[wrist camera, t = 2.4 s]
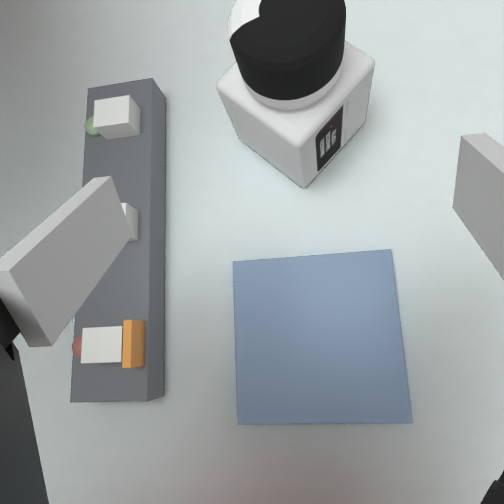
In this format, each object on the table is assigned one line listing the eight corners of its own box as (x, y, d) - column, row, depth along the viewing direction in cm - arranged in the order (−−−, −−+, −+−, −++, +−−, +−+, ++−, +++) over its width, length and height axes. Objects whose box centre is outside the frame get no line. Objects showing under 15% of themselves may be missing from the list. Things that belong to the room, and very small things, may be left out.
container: (366, 121, 33) (390, -13, 20) (304, 191, 32) (289, 98, 20) (296, 73, 35) (278, -75, 22) (237, 138, 35) (185, 25, 22)
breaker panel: (106, 107, 38) (74, 74, 33) (166, 98, 37) (141, 62, 32) (93, 396, 32) (52, 406, 27) (163, 395, 31) (133, 405, 26)
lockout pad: (234, 263, 32) (232, 261, 31) (389, 251, 30) (391, 249, 29) (240, 422, 30) (237, 424, 29) (410, 420, 27) (412, 423, 27)
